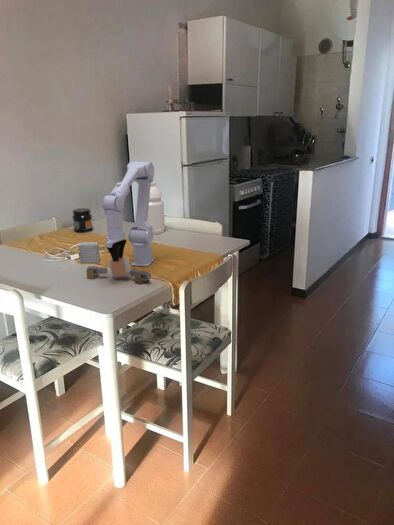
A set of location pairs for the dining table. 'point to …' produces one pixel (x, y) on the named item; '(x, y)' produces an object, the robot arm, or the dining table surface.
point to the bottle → (155, 210)
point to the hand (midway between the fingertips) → (117, 259)
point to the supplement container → (82, 220)
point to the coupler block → (120, 267)
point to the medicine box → (89, 252)
